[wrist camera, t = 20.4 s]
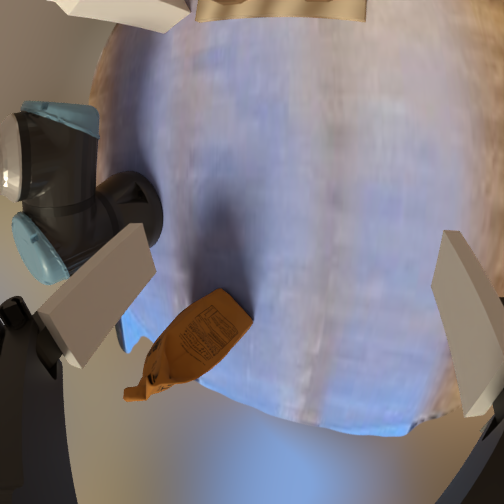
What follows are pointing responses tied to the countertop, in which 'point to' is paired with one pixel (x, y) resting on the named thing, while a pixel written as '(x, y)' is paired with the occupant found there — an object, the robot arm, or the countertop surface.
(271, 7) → the socket board
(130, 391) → the coffee package
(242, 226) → the countertop surface
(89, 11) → the milk
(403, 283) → the countertop surface
